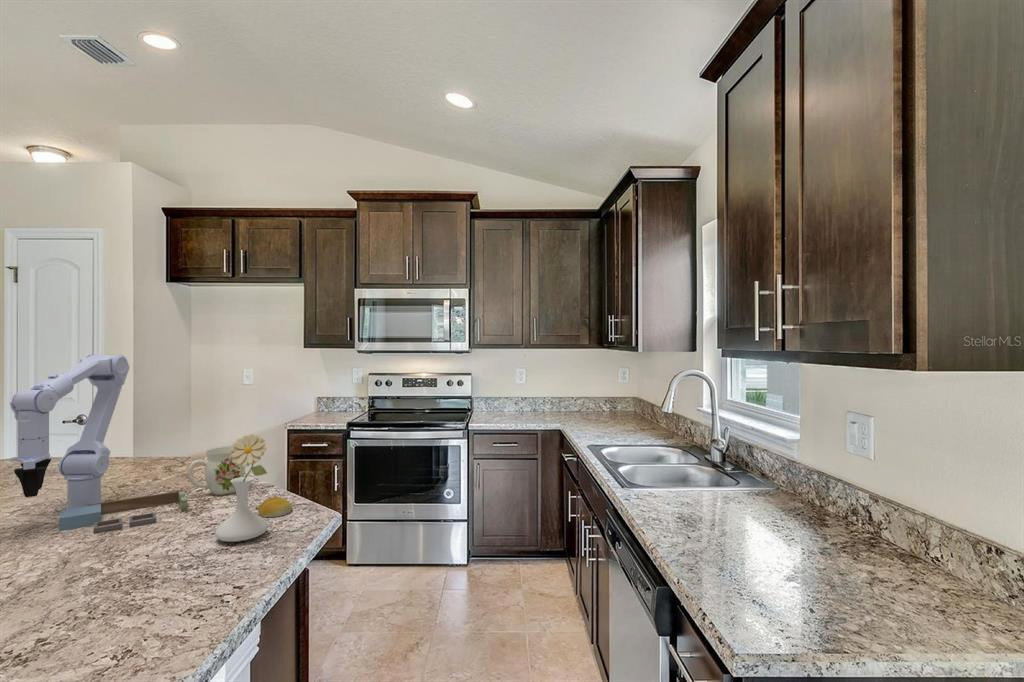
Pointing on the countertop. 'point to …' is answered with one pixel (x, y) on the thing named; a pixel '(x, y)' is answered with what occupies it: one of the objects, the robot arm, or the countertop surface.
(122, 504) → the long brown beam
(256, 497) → the countertop surface
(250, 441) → the flower in vase
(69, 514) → the slate block
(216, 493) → the pitcher
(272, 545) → the countertop surface
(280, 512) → the bread roll
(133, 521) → the grey double frame
